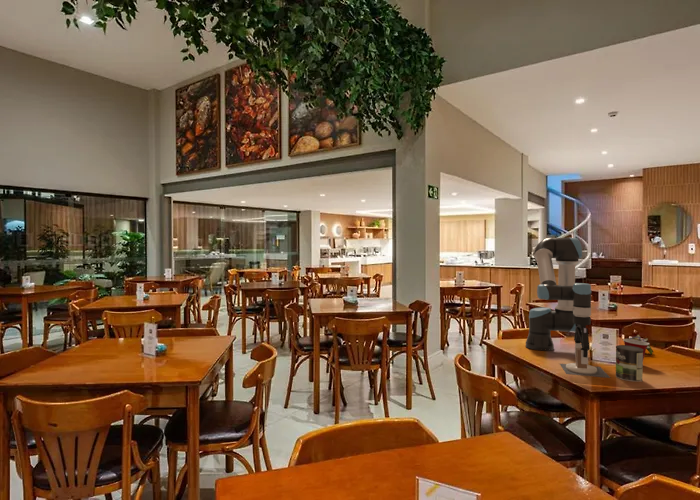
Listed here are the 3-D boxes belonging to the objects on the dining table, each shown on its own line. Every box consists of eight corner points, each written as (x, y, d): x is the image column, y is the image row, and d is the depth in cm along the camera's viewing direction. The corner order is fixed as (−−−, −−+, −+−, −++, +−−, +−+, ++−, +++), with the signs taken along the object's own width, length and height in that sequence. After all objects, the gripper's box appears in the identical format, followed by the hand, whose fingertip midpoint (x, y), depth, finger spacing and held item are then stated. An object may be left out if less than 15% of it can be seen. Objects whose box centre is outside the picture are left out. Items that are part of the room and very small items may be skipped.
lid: (563, 365, 205) (563, 345, 205) (593, 367, 201) (593, 347, 201) (568, 372, 193) (568, 351, 193) (600, 375, 189) (600, 353, 189)
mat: (559, 364, 208) (559, 363, 208) (599, 367, 203) (599, 366, 203) (566, 374, 191) (566, 373, 191) (610, 379, 186) (610, 377, 186)
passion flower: (636, 363, 231) (621, 345, 233) (636, 355, 239) (622, 338, 242) (657, 355, 224) (641, 336, 226) (656, 347, 233) (642, 329, 235)
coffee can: (624, 382, 181) (625, 350, 181) (610, 375, 191) (610, 344, 191) (648, 382, 181) (649, 350, 181) (633, 375, 191) (633, 345, 191)
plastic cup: (653, 368, 203) (653, 343, 203) (628, 366, 205) (628, 342, 205) (642, 362, 214) (642, 339, 213) (619, 360, 216) (619, 337, 216)
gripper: (567, 311, 210) (567, 353, 210) (578, 319, 186) (578, 366, 187) (584, 312, 208) (584, 354, 208) (597, 320, 184) (597, 368, 184)
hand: (581, 360), depth 197 cm, fingers open, 13 cm apart
